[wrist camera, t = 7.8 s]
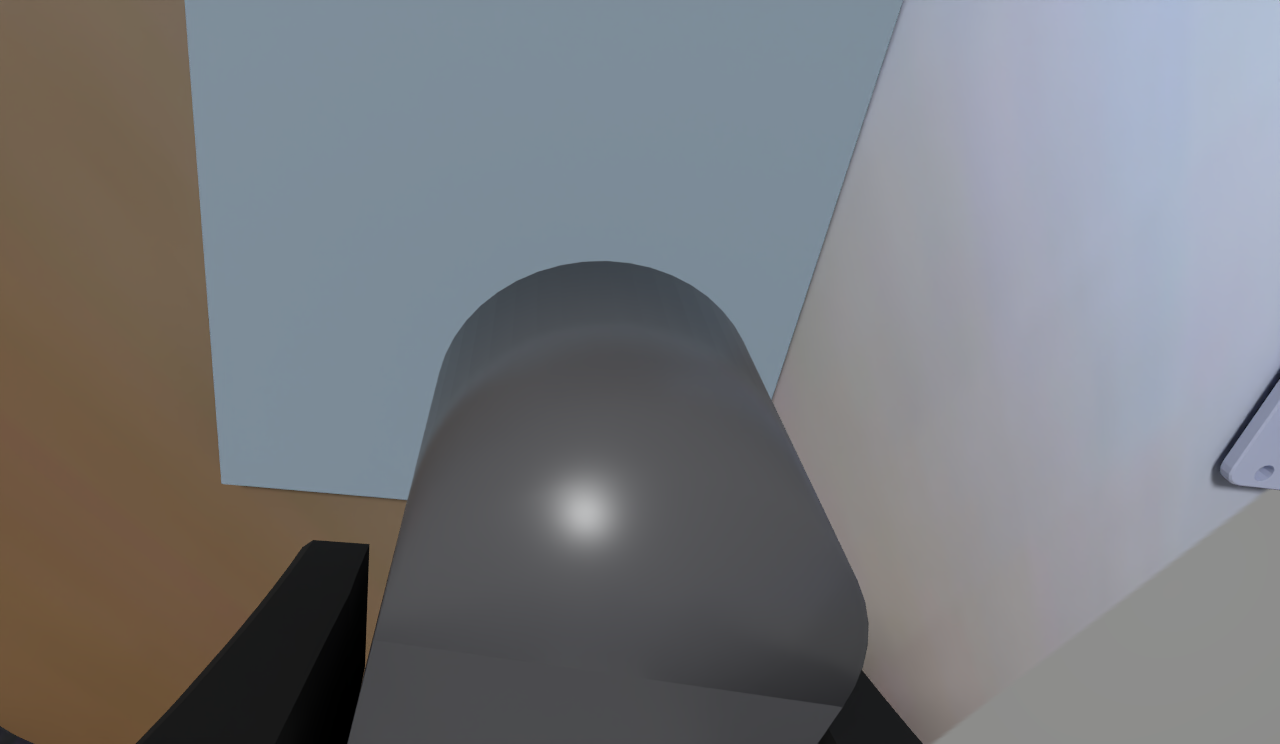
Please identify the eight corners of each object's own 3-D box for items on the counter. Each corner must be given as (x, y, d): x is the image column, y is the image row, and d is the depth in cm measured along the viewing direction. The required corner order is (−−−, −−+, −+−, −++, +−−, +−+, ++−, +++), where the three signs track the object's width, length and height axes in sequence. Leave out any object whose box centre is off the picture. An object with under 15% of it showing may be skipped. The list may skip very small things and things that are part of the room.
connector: (806, 311, 9) (958, 537, 6) (573, 792, 14) (582, 1085, 10) (477, 218, 8) (427, 424, 5) (340, 768, 13) (261, 1084, 9)
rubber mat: (925, -106, 13) (938, -107, 13) (725, 514, 20) (729, 527, 20) (175, -303, 11) (160, -313, 11) (229, 470, 18) (221, 483, 17)
